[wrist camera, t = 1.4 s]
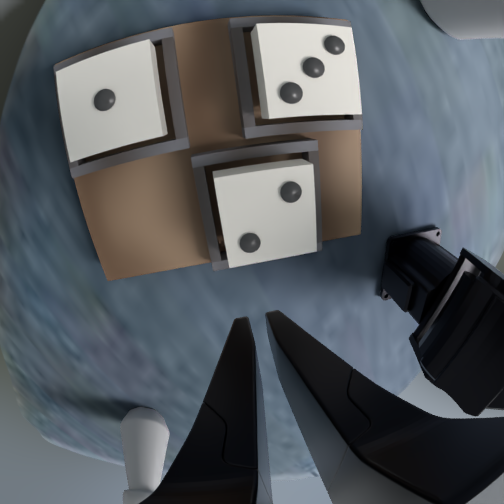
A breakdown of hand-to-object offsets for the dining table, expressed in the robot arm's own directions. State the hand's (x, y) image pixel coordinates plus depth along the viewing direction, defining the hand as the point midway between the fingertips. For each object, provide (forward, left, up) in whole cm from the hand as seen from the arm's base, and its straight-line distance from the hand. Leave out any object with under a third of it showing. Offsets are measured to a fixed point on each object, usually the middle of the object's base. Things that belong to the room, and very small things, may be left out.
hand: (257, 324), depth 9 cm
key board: (0, -5, -12) cm, 13 cm away
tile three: (-5, -8, -9) cm, 13 cm away
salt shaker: (+14, +23, -12) cm, 30 cm away
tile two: (-2, -1, -9) cm, 9 cm away
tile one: (+5, -8, -9) cm, 13 cm away
